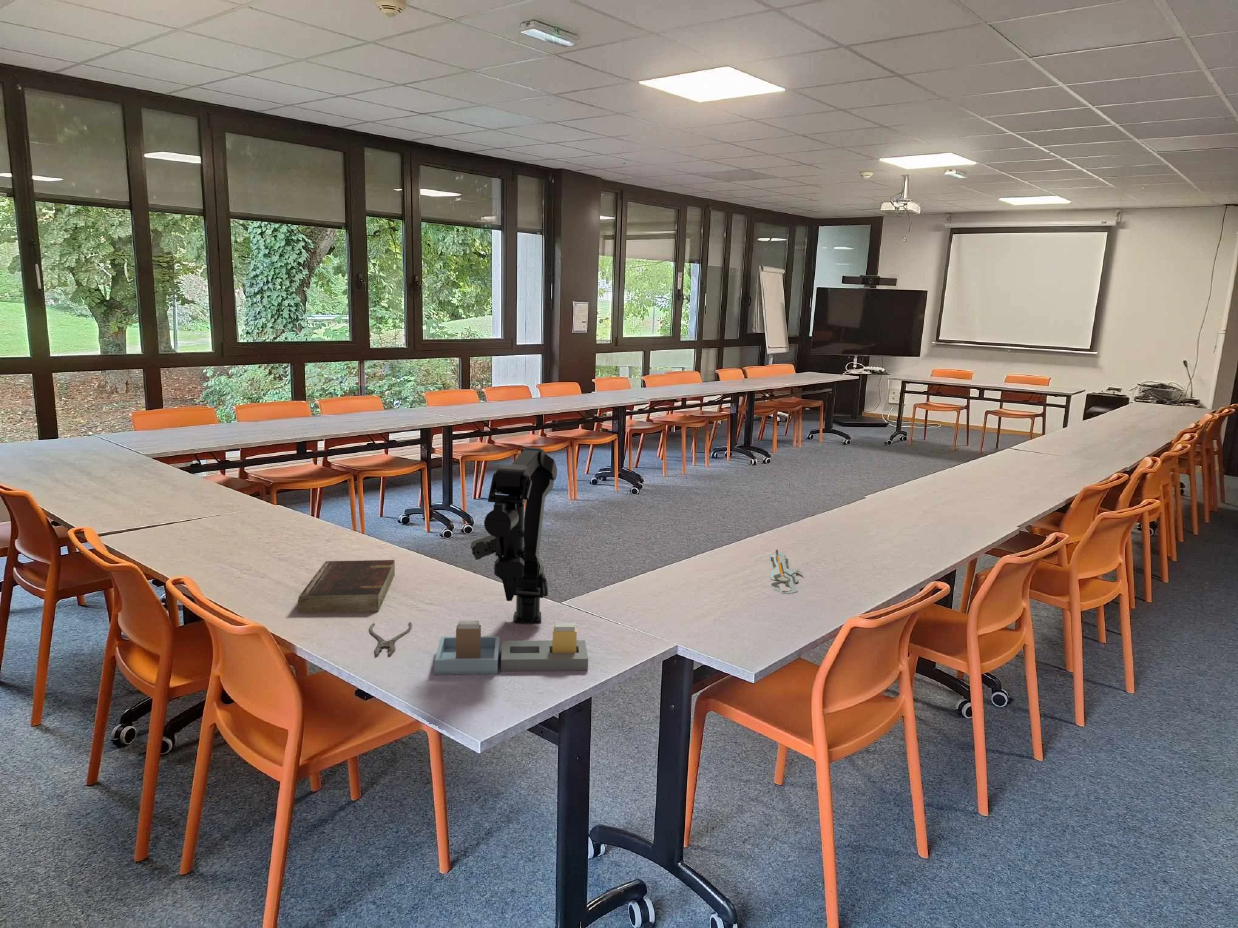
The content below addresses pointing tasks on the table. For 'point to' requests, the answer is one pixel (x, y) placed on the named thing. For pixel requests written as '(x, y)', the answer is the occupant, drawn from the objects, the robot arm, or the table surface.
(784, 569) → the gun
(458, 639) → the block
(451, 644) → the parts tray
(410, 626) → the pliers
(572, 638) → the block
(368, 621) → the table surface
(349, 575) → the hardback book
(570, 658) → the block
